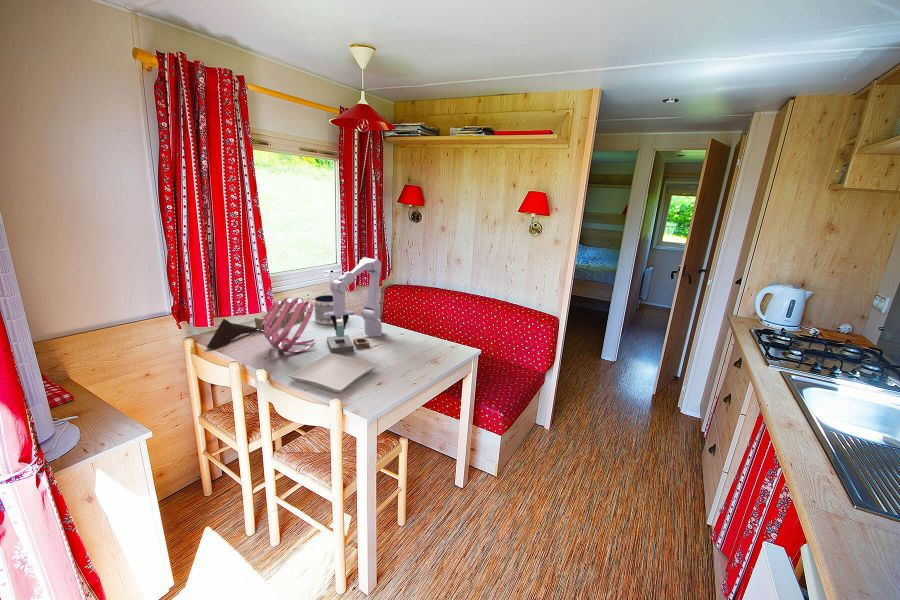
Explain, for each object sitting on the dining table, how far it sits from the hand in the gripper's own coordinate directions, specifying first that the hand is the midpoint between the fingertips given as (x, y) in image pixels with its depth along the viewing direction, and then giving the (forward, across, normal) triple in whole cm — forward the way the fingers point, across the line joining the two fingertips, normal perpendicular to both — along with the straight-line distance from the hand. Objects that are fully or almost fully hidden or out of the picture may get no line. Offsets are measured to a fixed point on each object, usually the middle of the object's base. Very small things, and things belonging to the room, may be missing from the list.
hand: (339, 329), depth 196 cm
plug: (+3, 0, 0) cm, 3 cm away
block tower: (+11, -26, +45) cm, 53 cm away
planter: (+10, 0, +45) cm, 46 cm away
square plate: (+11, -8, -31) cm, 34 cm away
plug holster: (+10, +11, 0) cm, 15 cm away
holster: (+11, -50, +26) cm, 57 cm away
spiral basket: (+10, -24, +6) cm, 26 cm away
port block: (+10, 0, 0) cm, 10 cm away
